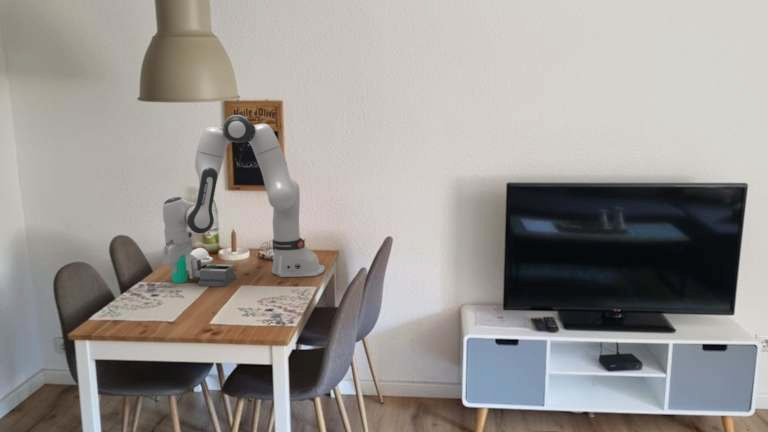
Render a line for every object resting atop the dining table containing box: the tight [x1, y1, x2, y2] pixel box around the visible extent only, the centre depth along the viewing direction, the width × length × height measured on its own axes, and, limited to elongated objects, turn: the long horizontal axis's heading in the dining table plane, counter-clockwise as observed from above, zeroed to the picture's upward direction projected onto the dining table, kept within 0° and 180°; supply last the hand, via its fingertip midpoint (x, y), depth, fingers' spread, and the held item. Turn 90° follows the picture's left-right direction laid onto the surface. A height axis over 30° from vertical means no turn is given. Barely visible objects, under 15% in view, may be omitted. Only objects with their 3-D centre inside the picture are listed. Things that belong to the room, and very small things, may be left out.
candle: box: [171, 255, 188, 284], centre depth 308 cm, size 6×6×12 cm
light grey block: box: [188, 258, 202, 280], centre depth 306 cm, size 9×6×7 cm, turn 80°
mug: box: [186, 247, 214, 272], centre depth 325 cm, size 12×10×8 cm
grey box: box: [198, 263, 237, 288], centre depth 305 cm, size 11×12×6 cm
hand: (179, 269), depth 308 cm, fingers closed on candle, 5 cm apart
